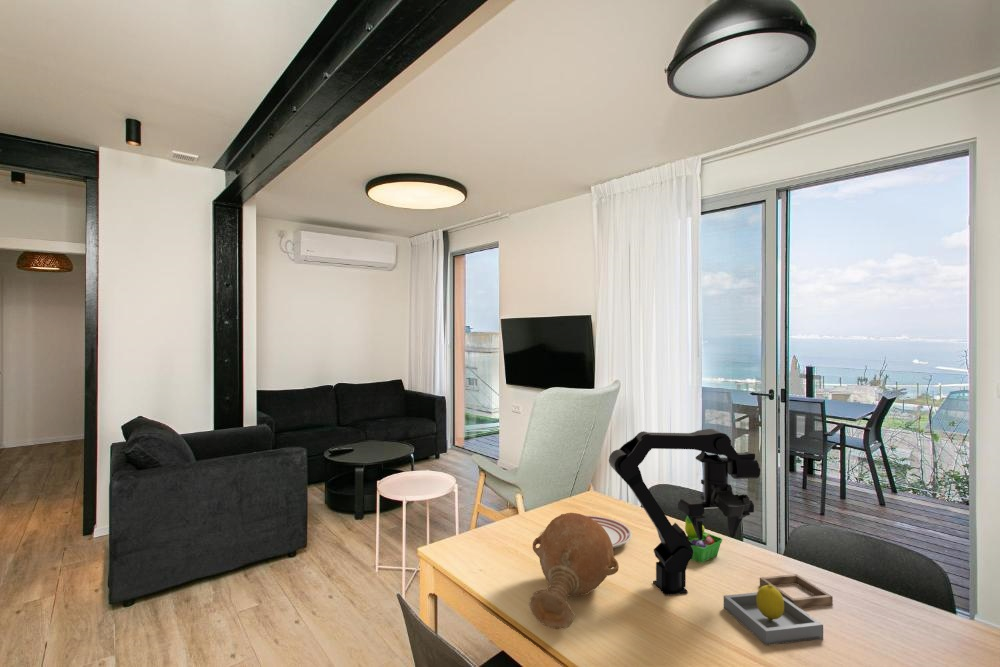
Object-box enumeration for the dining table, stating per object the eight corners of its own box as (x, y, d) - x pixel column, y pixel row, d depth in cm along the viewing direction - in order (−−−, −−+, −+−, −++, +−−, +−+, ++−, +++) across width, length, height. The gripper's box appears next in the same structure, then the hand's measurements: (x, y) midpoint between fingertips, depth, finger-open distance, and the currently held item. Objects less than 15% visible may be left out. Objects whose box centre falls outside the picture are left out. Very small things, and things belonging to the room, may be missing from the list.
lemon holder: (793, 608, 112) (793, 600, 112) (759, 585, 123) (759, 577, 123) (832, 604, 114) (832, 596, 114) (796, 581, 125) (796, 574, 125)
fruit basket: (702, 566, 133) (702, 526, 133) (675, 554, 140) (675, 517, 140) (723, 556, 140) (723, 518, 140) (696, 545, 147) (696, 509, 147)
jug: (633, 538, 124) (616, 610, 96) (592, 583, 130) (565, 663, 102) (574, 487, 129) (541, 542, 102) (537, 532, 135) (496, 596, 107)
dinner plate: (531, 544, 147) (531, 534, 147) (566, 517, 170) (566, 508, 171) (616, 566, 133) (616, 555, 133) (641, 534, 156) (641, 524, 156)
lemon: (788, 628, 103) (788, 592, 103) (761, 625, 104) (760, 589, 104) (778, 614, 108) (778, 580, 108) (753, 611, 109) (752, 577, 110)
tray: (766, 645, 98) (766, 631, 98) (723, 608, 112) (723, 595, 112) (823, 638, 100) (823, 624, 101) (774, 602, 114) (774, 590, 114)
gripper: (702, 489, 112) (702, 554, 112) (770, 486, 115) (770, 549, 115) (676, 476, 123) (677, 535, 123) (739, 473, 126) (739, 531, 126)
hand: (716, 538), depth 121 cm, fingers open, 9 cm apart
